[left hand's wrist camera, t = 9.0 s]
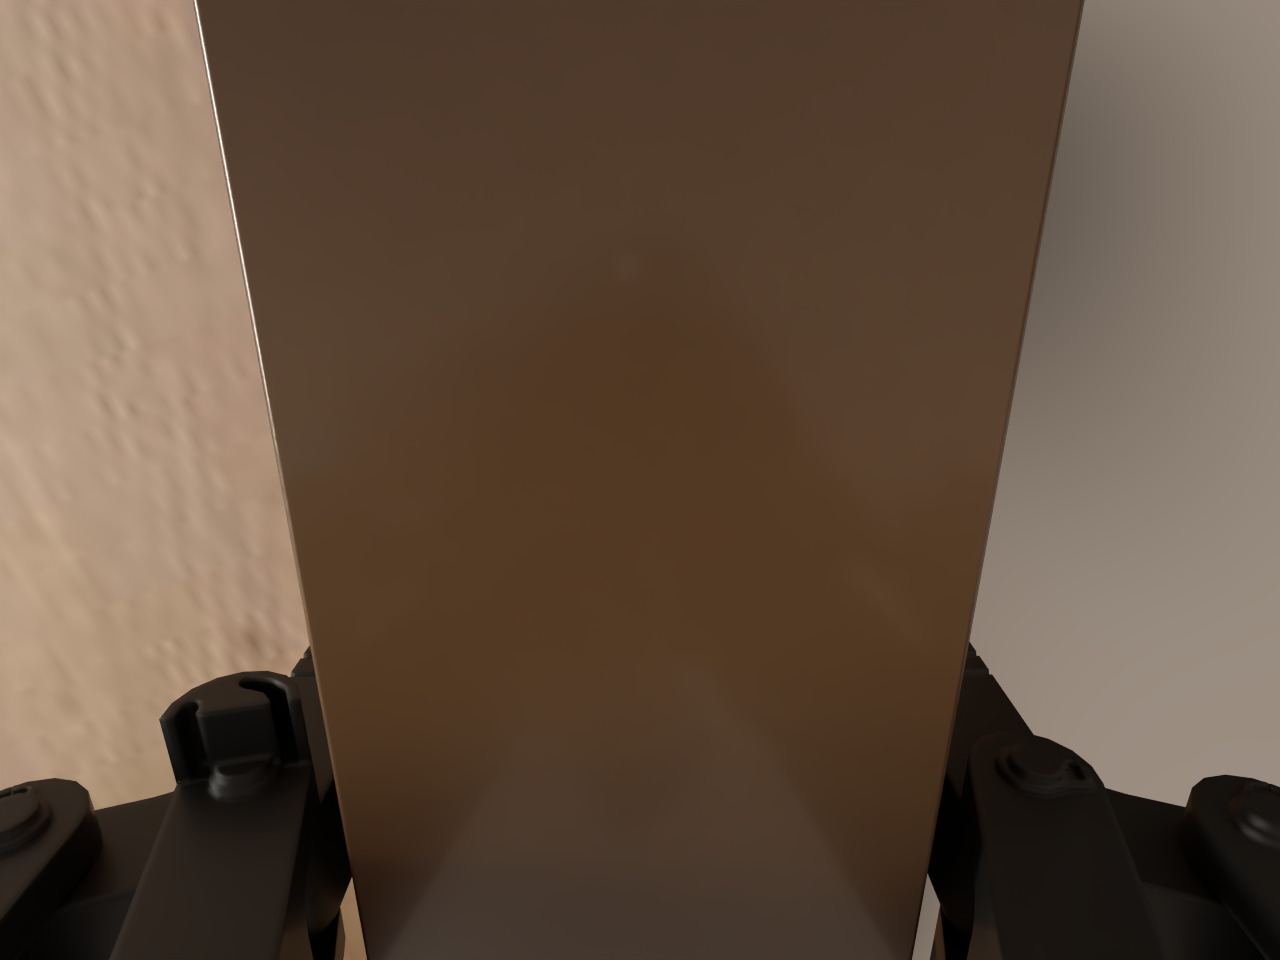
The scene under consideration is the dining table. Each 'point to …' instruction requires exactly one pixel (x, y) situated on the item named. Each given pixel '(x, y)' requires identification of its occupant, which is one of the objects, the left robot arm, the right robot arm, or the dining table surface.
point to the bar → (639, 441)
